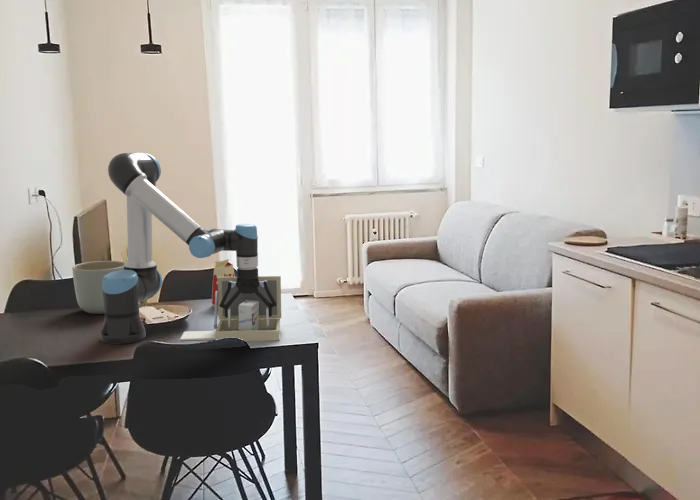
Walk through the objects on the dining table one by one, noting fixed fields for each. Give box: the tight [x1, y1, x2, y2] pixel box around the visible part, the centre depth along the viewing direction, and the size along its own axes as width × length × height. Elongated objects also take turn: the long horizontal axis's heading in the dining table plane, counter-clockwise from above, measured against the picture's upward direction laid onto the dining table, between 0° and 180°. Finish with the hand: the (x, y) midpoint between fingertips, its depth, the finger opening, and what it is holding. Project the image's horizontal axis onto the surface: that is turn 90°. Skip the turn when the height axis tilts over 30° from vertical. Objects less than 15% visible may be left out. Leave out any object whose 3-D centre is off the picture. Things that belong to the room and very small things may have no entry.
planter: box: [72, 260, 126, 315], centre depth 273 cm, size 21×21×19 cm
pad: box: [179, 330, 216, 341], centre depth 239 cm, size 13×9×1 cm
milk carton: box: [211, 258, 236, 308], centre depth 283 cm, size 9×9×20 cm
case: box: [213, 275, 282, 342], centre depth 240 cm, size 24×17×20 cm
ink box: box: [238, 300, 260, 331], centre depth 240 cm, size 9×5×12 cm, turn 168°
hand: (248, 325), depth 241 cm, fingers open, 13 cm apart
